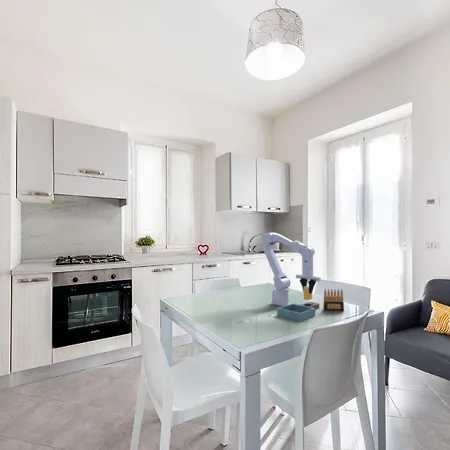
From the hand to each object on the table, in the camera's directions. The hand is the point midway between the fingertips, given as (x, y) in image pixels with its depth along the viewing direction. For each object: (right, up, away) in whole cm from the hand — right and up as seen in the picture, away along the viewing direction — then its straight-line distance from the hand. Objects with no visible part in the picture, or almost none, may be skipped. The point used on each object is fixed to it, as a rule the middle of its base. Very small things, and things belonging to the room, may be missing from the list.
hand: (307, 292), depth 163 cm
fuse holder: (0, -9, 0) cm, 9 cm away
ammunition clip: (+13, -10, -3) cm, 17 cm away
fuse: (0, -4, 0) cm, 4 cm away
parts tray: (-10, -9, -12) cm, 18 cm away
